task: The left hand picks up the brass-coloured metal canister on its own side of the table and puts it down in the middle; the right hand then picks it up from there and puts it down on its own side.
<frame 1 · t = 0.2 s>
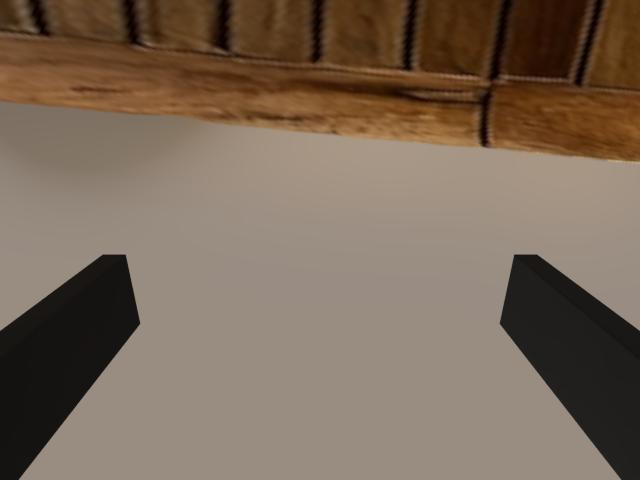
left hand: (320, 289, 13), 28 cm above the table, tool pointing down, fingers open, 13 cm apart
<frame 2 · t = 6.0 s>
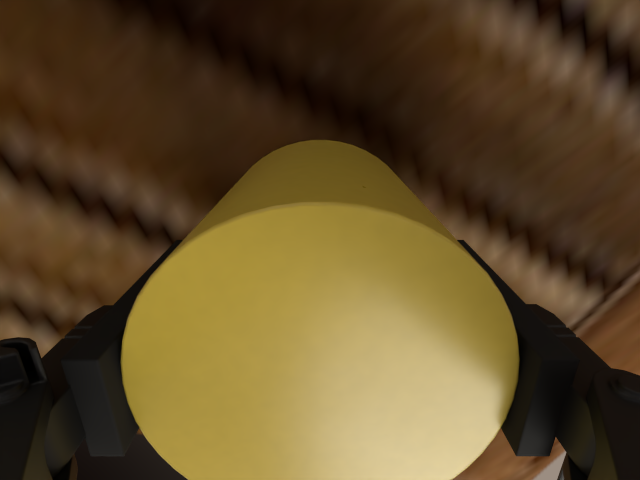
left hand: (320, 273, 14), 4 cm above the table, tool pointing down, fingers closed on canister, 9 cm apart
canister: (320, 237, 17), on the table, touching left hand
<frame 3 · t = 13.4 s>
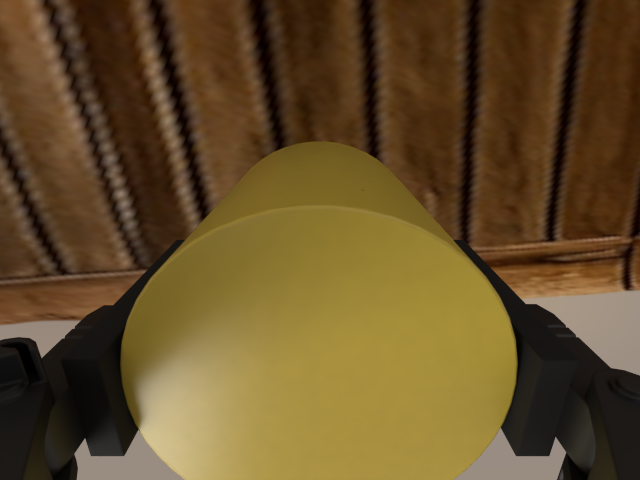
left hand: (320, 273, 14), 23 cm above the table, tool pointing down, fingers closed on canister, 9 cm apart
canister: (319, 238, 17), point 19 cm above the table, touching left hand
when the left hand's fingers open (5 cm above the table, at t = 21.1 s): canister drops 1 cm, on the table.
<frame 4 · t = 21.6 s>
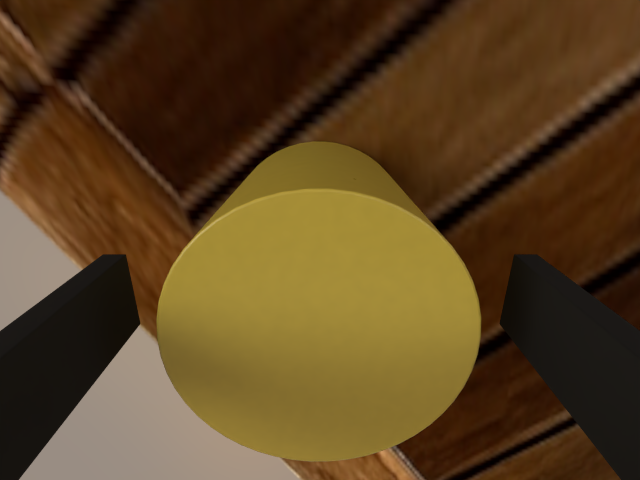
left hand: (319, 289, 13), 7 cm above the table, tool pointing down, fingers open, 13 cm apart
canister: (319, 229, 19), on the table
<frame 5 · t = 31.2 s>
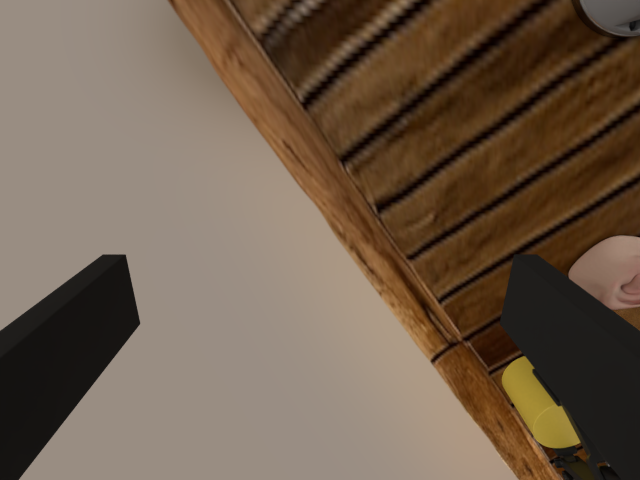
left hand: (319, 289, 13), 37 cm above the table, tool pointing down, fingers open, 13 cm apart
anatomical model: (616, 269, 54), on the table
canister: (529, 376, 61), on the table, touching right hand
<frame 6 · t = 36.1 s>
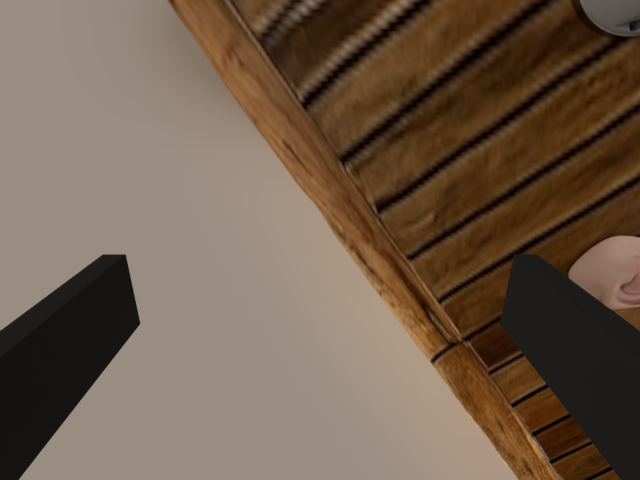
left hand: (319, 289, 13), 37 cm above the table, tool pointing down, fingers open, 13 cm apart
anatomical model: (616, 269, 54), on the table
when the right hand's fingers open (5 cm above the table, at t = 41.3 s): canister drops 1 cm, on the table.
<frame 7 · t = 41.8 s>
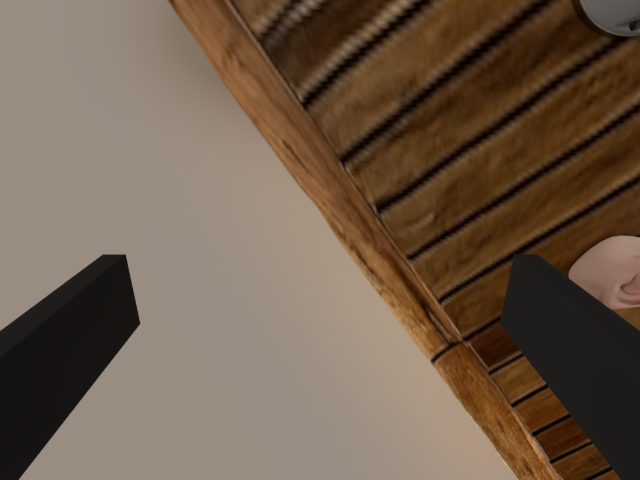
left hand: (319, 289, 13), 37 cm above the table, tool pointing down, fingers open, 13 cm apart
anatomical model: (616, 269, 54), on the table
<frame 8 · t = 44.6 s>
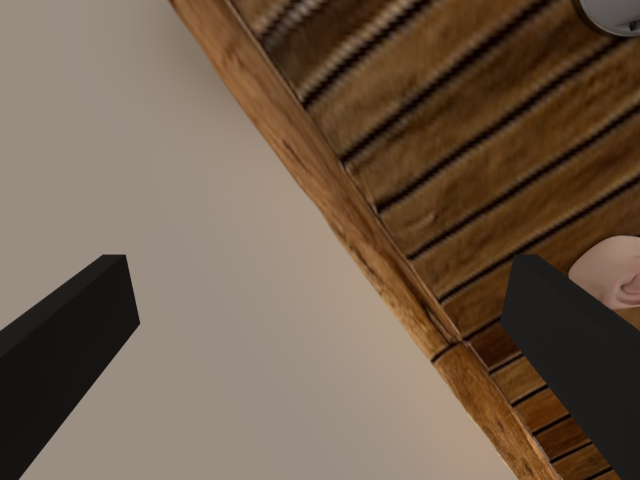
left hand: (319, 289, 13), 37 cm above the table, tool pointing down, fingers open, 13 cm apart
anatomical model: (616, 269, 54), on the table
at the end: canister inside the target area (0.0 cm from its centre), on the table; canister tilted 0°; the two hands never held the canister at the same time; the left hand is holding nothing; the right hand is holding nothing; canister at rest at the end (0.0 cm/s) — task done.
